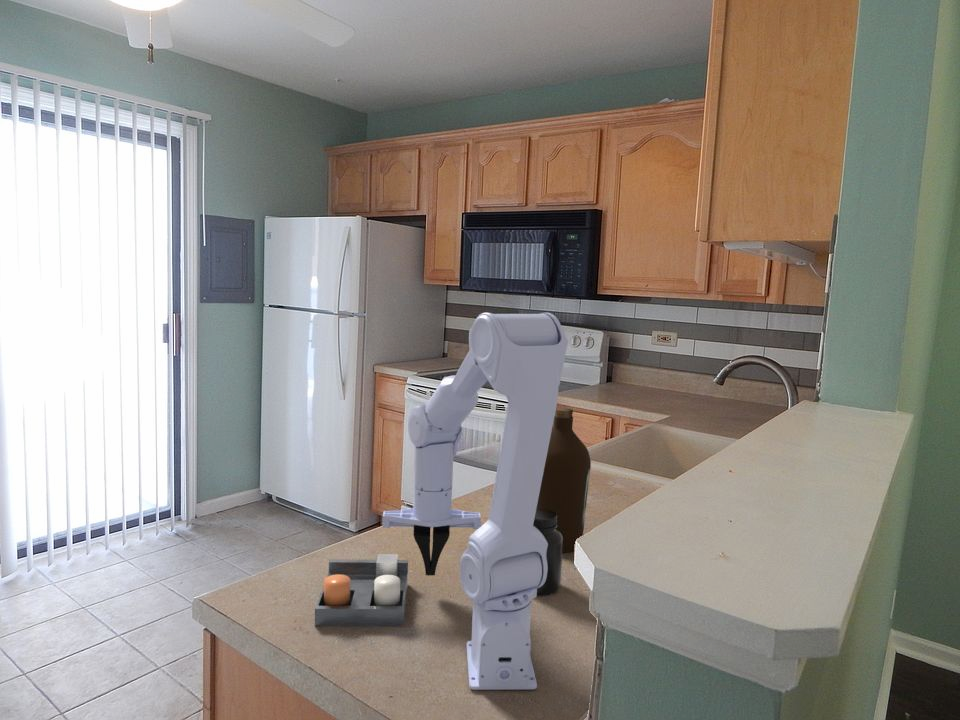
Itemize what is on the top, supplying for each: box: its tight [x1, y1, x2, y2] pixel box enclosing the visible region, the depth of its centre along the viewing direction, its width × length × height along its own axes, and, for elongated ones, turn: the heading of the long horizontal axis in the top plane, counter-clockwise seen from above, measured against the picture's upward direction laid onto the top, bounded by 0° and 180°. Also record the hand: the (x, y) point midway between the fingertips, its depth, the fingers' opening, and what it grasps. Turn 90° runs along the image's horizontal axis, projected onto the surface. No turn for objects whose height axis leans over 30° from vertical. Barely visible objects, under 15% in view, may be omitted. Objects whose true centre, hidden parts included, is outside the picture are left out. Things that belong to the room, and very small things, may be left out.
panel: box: [314, 558, 409, 627], centre depth 94 cm, size 12×12×4 cm
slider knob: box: [376, 553, 399, 578], centre depth 97 cm, size 3×3×3 cm
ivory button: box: [374, 575, 400, 606], centre depth 91 cm, size 4×4×3 cm
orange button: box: [323, 574, 350, 606], centre depth 91 cm, size 4×4×3 cm
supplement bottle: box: [533, 509, 563, 597], centre depth 101 cm, size 7×7×12 cm
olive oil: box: [536, 406, 592, 553], centre depth 117 cm, size 11×11×25 cm
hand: (430, 572), depth 98 cm, fingers closed
